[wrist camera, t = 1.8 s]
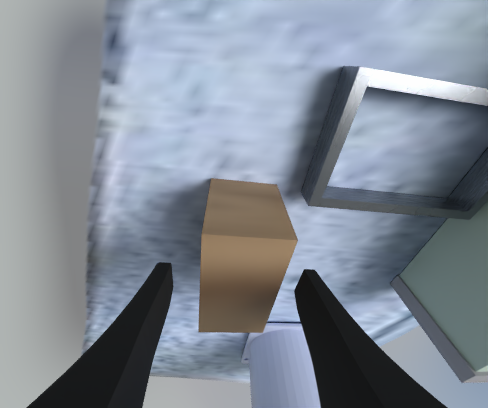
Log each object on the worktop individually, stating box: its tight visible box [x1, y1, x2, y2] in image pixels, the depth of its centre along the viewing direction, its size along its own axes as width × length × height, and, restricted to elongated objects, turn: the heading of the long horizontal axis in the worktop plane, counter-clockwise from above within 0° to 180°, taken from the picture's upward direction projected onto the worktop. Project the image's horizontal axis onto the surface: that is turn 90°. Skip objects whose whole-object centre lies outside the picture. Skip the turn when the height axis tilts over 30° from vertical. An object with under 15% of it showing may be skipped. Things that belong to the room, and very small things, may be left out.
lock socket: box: [301, 66, 488, 220], centre depth 11 cm, size 7×11×2 cm, turn 82°
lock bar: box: [199, 178, 298, 333], centre depth 13 cm, size 8×4×5 cm, turn 172°
